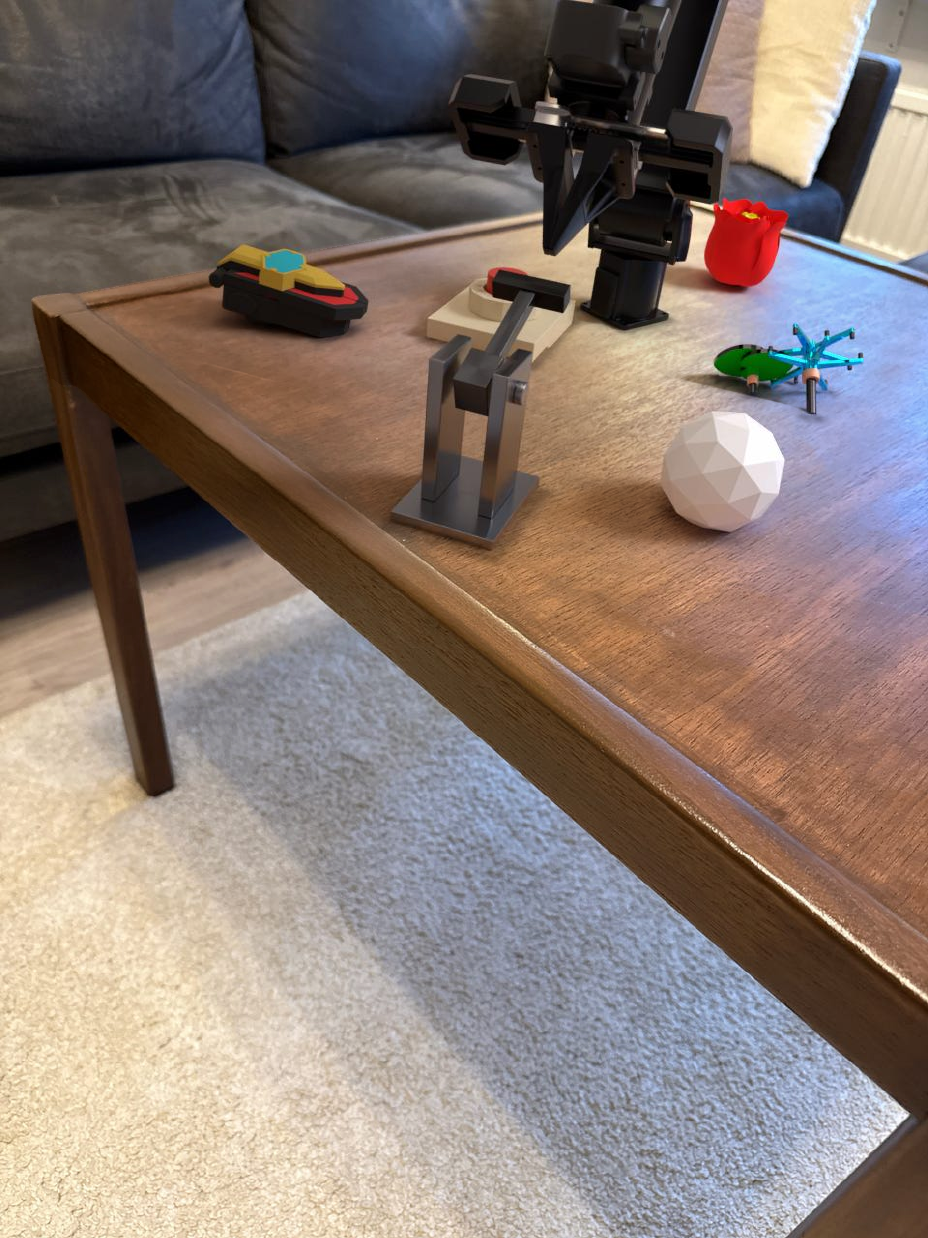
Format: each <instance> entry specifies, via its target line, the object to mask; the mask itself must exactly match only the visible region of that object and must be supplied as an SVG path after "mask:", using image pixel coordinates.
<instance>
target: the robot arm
mask: <svg viewBox="0 0 928 1238" xmlns="http://www.w3.org/2000/svg"><path fill="white" fill-rule="evenodd" d="M729 1H730V0H592V2H588V1H581V0H557V1H556V2H555V6H554V10H553V15H552V20H551V23H550V28H549V32H548V37H547V41H546V45H545V50H544V54H543V58H542V59H543V60H544V63H546V64H547V63H548V64H549V67H550V68H551V69H552V71H551V74H550V76H549V80H548V82H547V90H548V95H549V98H551V99H556V103H554V102H553V103H552V102H547V101H540V100H537V101H536V102H535V105H534V108H527V107H522V104H521V103H522V102H521V99H520V94H519V89H518V85H517V81H514V80H508V79H502V78H496V77H490V76H485V75H480V74H479V75H478V74H472V73H469V74H466V75H462V77H460V79H459V80H458V81H456V83H455V85H454V88H453V91H452V93H451V96H450V98H449V102H448V104H447V106H448V110H449V112H450V115H451V118H452V122H453V125H454V128H455V132H456V134H457V138H458V140H459V144H460V146H461V149H462V152H463V154H464V155H466V156H467V157H468V158H469V159H471V160H473V161H479V162H484V163H489V164H494V165H500V166H507V165H509V164H511V163H512V162H514V161H515V160H516V161H517V160H518V159H519V158H520V156H521V152H522V150H523V147H524V143H525V145H526V150H527V154H528V158H529V162H530V167H531V171H532V176H533V178H534V180H535V181H537V182H538V183H540V184H541V183H542V194H543V195H542V199H543V200H542V251H543V254H544V255H545V256H551V257H556V256H558V255H559V254H560V252H562V250H563V249H565V248H566V247H567V246H568V244H569V243H570V242H571V241H573V239H575V237H576V236H577V235H578V234H580V232H581V231H582V230H583V229H584V228H585V227H587V225H588V230H587V248H588V249H592V250H593V249H597V250H600V254H599V258H598V259H599V260H598V266H597V267H596V268H595V272H594V277H593V282H592V283H593V284H592V289H591V290H592V291H591V295H590V300H584V301H581V302H580V303H579V309H581V310H583V311H584V312H587V313H589V314H591V315H593V316H595V317H597V318H599V319H600V320H602V321H605V322H607V323H609V324H611V325H613V326H615V327H617V328H619V329H621V330H631V329H634V328H638V327H642V326H646V325H647V326H648V325H651V324H654V323H655V324H656V323H658V322H659V323H660V322H663V321H666V320H669V318H670V313H668V312H667V311H664V310H662V309H660V308H659V304H660V300H661V295H662V291H663V286H664V283H665V276H666V273H667V267H668V265H670V266H675V264H676V263H685V262H686V261H687V259H688V255H689V250H690V245H691V241H692V232H693V231H692V230H693V220H694V213H693V211H692V209H691V202H694V203H699V204H704V205H705V204H706V205H714V204H715V203H719V202H720V200H721V196H722V194H723V190H724V187H725V185H726V182H727V177H728V174H729V169H730V162H731V151H732V141H733V132H734V130H733V129H734V128H733V126H732V124H731V122H730V120H729V117H728V116H725V115H719V114H714V113H708V112H702V111H696V108H697V105H698V102H699V98H700V95H701V92H702V88H703V85H704V82H705V79H706V75H707V73H708V69H709V66H710V63H711V60H712V56H713V52H714V50H715V47H716V42H717V40H718V38H719V34H720V30H721V28H722V24H723V22H724V19H725V18H724V17H725V14H726V11H727V7H728V4H729ZM576 153H581V154H582V157H581V160H580V165H579V167H578V171H577V173H576V175H575V172H574V166H573V160H572V158H575V156H576Z"/></svg>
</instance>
